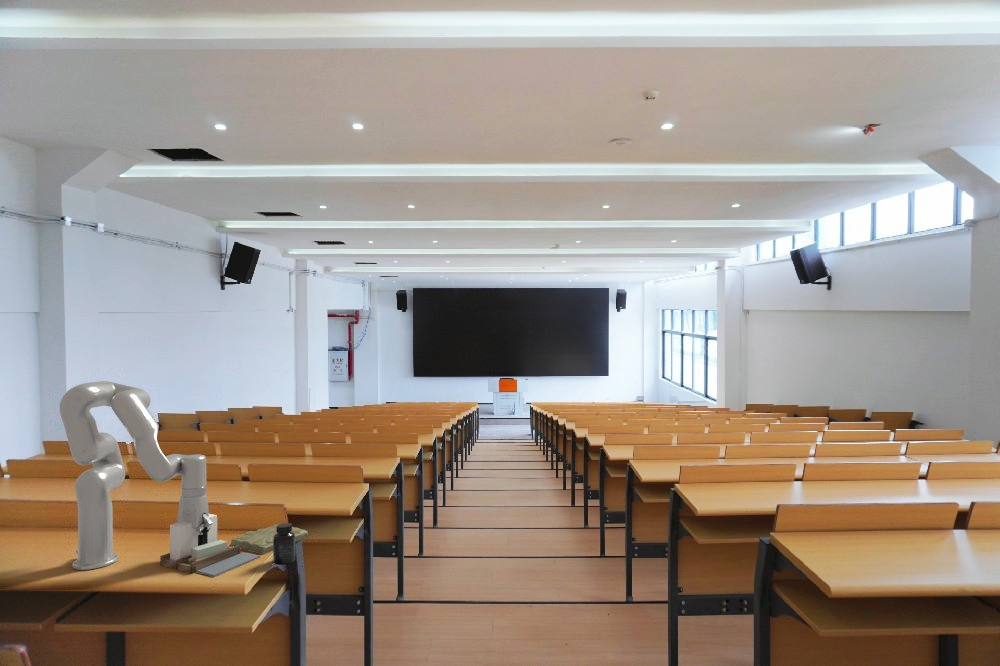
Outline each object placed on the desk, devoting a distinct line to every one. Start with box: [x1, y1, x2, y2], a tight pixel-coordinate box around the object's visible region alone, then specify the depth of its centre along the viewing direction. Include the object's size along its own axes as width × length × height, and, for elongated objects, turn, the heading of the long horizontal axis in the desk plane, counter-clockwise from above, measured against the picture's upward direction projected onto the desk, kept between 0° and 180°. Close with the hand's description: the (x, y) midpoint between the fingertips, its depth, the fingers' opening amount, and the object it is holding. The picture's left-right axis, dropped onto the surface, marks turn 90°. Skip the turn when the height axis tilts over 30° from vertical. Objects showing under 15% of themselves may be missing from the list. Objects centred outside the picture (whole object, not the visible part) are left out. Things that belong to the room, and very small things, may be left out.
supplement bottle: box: [272, 522, 296, 566], centre depth 196 cm, size 7×7×12 cm
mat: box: [196, 551, 261, 578], centre depth 193 cm, size 8×18×1 cm, turn 154°
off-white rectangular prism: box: [169, 513, 218, 561], centre depth 199 cm, size 5×14×13 cm, turn 154°
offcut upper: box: [192, 539, 228, 560], centre depth 196 cm, size 4×10×3 cm, turn 144°
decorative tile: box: [230, 523, 309, 555], centre depth 215 cm, size 19×20×4 cm
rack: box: [159, 545, 241, 574], centre depth 197 cm, size 16×18×3 cm
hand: (194, 543), depth 199 cm, fingers open, 7 cm apart
